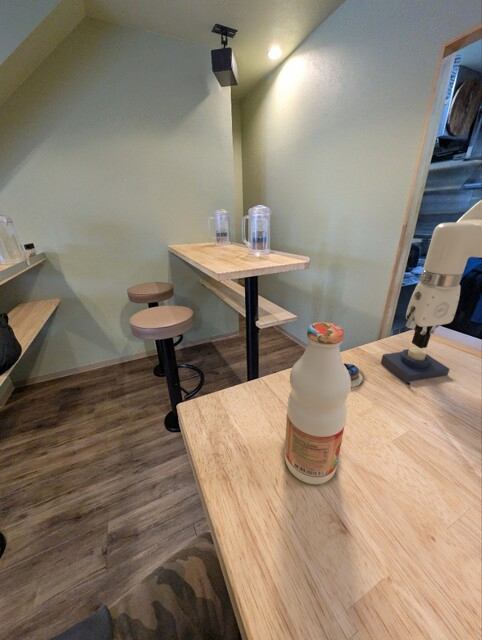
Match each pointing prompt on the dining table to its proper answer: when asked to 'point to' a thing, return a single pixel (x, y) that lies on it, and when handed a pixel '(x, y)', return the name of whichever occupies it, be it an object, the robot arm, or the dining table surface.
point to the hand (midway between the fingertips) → (418, 345)
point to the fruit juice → (317, 406)
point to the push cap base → (413, 367)
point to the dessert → (354, 374)
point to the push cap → (417, 353)
